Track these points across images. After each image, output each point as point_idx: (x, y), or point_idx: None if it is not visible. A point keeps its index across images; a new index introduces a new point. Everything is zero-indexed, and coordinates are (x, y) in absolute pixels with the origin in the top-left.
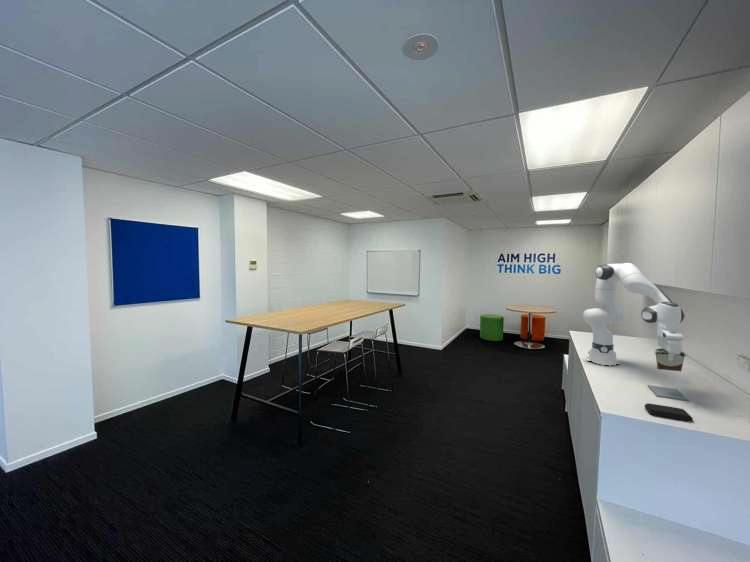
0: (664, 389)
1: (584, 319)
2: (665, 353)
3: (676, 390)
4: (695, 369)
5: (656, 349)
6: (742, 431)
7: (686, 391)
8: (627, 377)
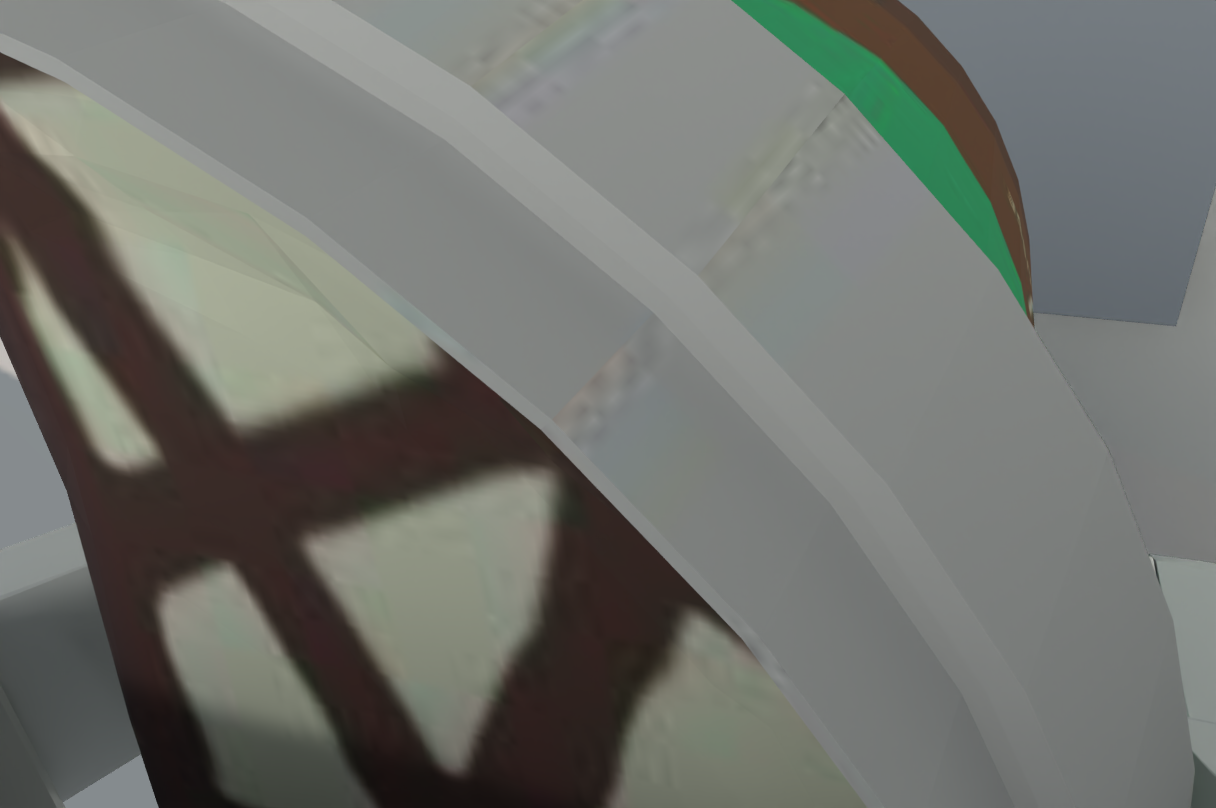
0: (1051, 68)
1: None
2: (127, 563)
3: (1063, 282)
4: None
5: (294, 213)
6: (6, 367)
7: (1160, 449)
8: None
